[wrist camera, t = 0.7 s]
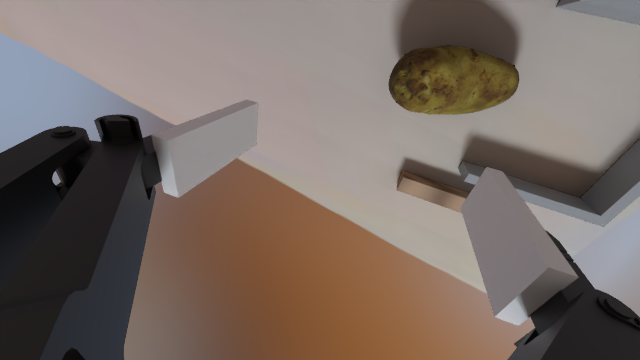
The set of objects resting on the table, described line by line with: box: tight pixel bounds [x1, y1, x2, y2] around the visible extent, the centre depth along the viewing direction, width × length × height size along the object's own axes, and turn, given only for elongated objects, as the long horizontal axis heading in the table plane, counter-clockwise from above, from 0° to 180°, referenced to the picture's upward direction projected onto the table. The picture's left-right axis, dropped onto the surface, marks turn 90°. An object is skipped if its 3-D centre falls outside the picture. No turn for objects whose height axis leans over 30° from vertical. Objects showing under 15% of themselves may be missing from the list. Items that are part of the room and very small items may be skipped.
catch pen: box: [458, 0, 640, 227], centre depth 26 cm, size 20×16×4 cm
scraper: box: [397, 171, 470, 213], centre depth 36 cm, size 14×5×2 cm, turn 77°
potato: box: [389, 46, 519, 114], centre depth 27 cm, size 8×13×8 cm, turn 68°
